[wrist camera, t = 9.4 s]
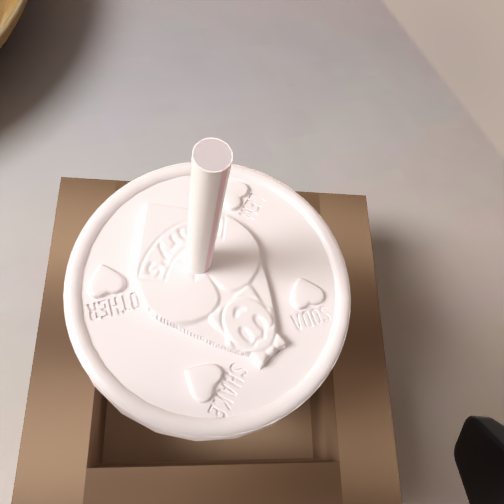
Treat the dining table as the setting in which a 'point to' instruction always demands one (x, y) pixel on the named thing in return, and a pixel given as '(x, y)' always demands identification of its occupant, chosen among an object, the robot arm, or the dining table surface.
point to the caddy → (212, 451)
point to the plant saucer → (9, 17)
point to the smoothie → (206, 298)
